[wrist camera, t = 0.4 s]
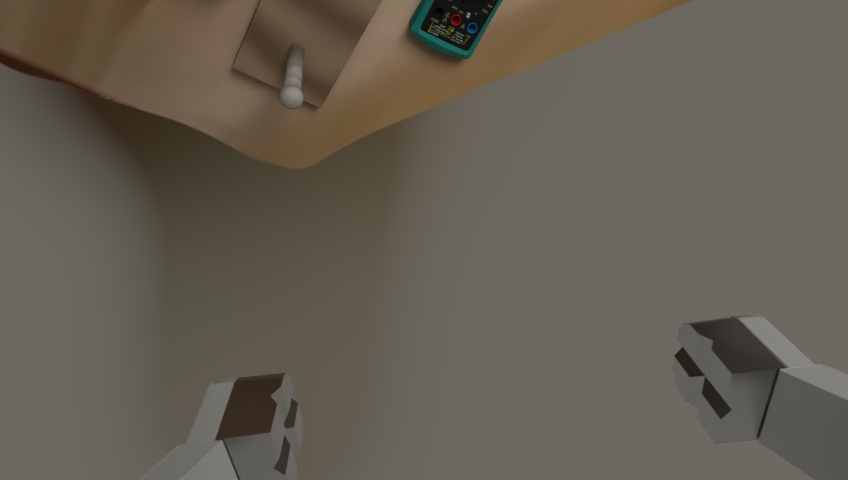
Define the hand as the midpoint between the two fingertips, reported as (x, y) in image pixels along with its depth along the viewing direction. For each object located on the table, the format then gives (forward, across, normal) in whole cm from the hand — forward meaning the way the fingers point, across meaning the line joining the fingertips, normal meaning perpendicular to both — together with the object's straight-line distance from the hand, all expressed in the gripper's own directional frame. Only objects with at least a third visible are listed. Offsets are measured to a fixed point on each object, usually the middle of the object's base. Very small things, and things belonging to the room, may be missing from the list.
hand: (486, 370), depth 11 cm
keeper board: (+50, +7, -5) cm, 51 cm away
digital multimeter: (+51, -8, -5) cm, 52 cm away
